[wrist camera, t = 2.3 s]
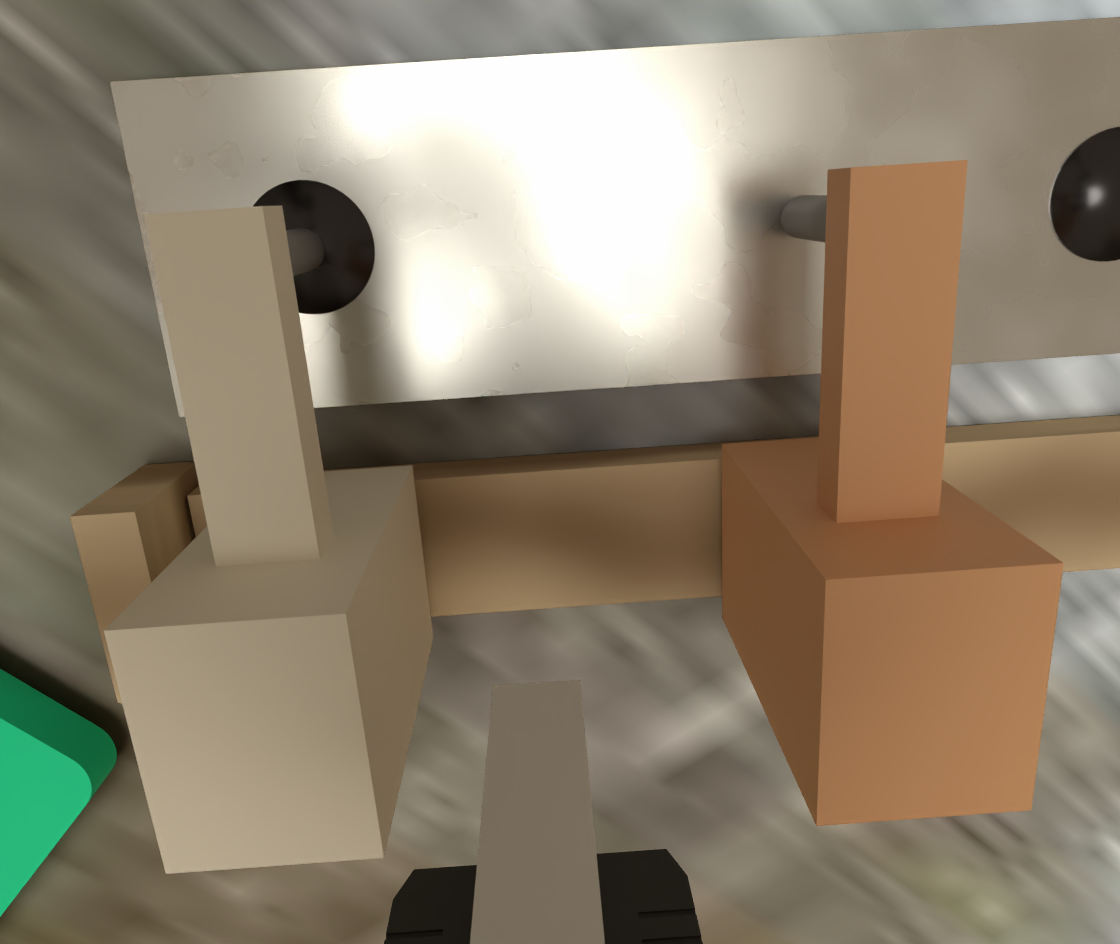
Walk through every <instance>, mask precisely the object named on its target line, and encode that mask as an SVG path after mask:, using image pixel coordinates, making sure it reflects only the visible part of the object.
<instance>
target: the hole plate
mask: <svg viewBox="0 0 1120 944" xmlns="http://www.w3.org/2000/svg"><path fill="white" fill-rule="evenodd" d="M110 85H111V90H112V95H113V99H114V104H115V109H116V114H117V119H118V123H119V128H120V133H121V138H122V143H123V148H124V152H125V157H126V162H127V167H128V172H129V177H130V181H131V186H132V191H133V196H134V201H135V206H136V210H137V215H138V220H139V225H140V230H141V235H142V239H143V244H144V249H145V254H146V259H147V263H148V268H149V273H150V278H151V283H152V288H153V292H154V297H155V302H156V307H157V312H158V317H159V321H160V326H161V331H162V336H163V341H164V346H165V350H166V355H167V360H168V365H169V370H170V375H171V379H172V384H173V389H174V394H175V399H176V403H177V408H178V413H179V417H185V414H184V409H183V404H182V399H181V395H180V390H179V385H178V380H177V375H176V370H175V365H174V360H173V355H172V351H171V346H170V341H169V336H168V331H167V326H166V321H165V316H164V312H163V307H162V302H161V297H160V292H159V287H158V282H157V277H156V273H155V268H154V263H153V258H152V253H151V248H150V243H149V238H148V233H147V229H146V224H145V219H144V214H150V213H165V212H181V211H196V210H211V209H226V208H242V207H257V206H282V208H283V214H284V221H285V227H286V230H292V229H299V228H304V229H308V230H311V231H313V232H314V233H315V234H317V235H318V236H319V238H320V239H321V241H322V243H323V246H324V258H323V260H322V262H321V264H320V265H319V266H318V267H317V268H315V269H314V270H311V271H308V272H305V273H302V274H299V275H296V276H293V278H294V285H295V291H296V297H297V304H298V310H299V317H300V323H301V329H302V336H303V342H304V349H305V355H306V361H307V368H308V374H309V381H310V387H311V393H312V400H313V406H314V408H320V407H335V406H350V405H365V404H379V403H394V402H409V401H423V400H438V399H453V398H467V397H482V396H497V395H511V394H526V393H541V392H555V391H570V390H585V389H599V388H614V387H629V386H644V385H658V384H673V383H688V382H702V381H717V380H732V379H746V378H761V377H776V376H790V375H805V374H820V373H821V357H822V327H823V296H824V266H825V243H824V242H818V241H811V240H805V239H798V238H794V237H791V236H790V235H788V234H787V233H786V232H785V230H784V229H783V227H782V223H781V214H782V211H783V208H784V207H785V205H786V204H787V203H788V202H789V201H790V200H791V199H792V198H794V197H796V196H800V195H827V175H828V170H829V169H840V168H851V167H866V166H881V165H897V164H912V163H927V162H942V161H957V160H968V163H967V175H966V188H965V200H964V212H963V225H962V237H961V250H960V262H959V274H958V287H957V299H956V312H955V324H954V336H953V349H952V361H951V365H952V364H967V363H981V362H996V361H1011V360H1025V359H1040V358H1055V357H1069V356H1084V355H1099V354H1114V353H1120V17H1114V18H1098V19H1083V20H1067V21H1051V22H1036V23H1020V24H1005V25H989V26H973V27H958V28H942V29H927V30H911V31H895V32H880V33H864V34H848V35H833V36H817V37H802V38H786V39H770V40H755V41H739V42H724V43H708V44H692V45H677V46H661V47H646V48H630V49H614V50H599V51H583V52H567V53H552V54H536V55H521V56H505V57H489V58H474V59H458V60H443V61H427V62H411V63H396V64H380V65H364V66H349V67H333V68H318V69H302V70H286V71H271V72H255V73H240V74H224V75H208V76H193V77H177V78H162V79H146V80H130V81H115V82H110Z"/></svg>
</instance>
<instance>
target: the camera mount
mask: <svg viewBox="0 0 1120 944" xmlns="http://www.w3.org/2000/svg"><path fill="white" fill-rule="evenodd" d="M116 759H117V751H116V747H115V744H114V742H113V740H112V739H111V737H110V736H109V735H108V734H107V733H106V732H105V731H104V730H103V729H101V728H100V727H98V726H97V725H95V724H93V723H92V722H90V721H88V720H86V719H85V718H83V717H81V716H80V715H78V714H76V713H75V712H73V711H71V710H70V709H68V708H66V707H64V706H63V705H61V704H59V703H58V702H56V701H54V700H53V699H51V698H49V697H47V696H46V695H44V694H42V693H41V692H39V691H37V690H36V689H34V688H32V687H30V686H29V685H27V684H25V683H24V682H22V681H20V680H19V679H17V678H15V677H13V676H12V675H10V674H8V673H7V672H5V671H3V670H2V669H0V917H1V915H2V914H3V913H4V911H5V910H6V909H7V907H8V906H9V905H10V904H11V902H12V901H13V900H14V898H15V897H16V896H17V894H18V893H19V892H20V891H21V889H22V888H23V887H24V885H25V884H26V883H27V881H28V880H29V879H30V877H31V876H32V875H33V874H34V872H35V871H36V870H37V868H38V867H39V866H40V864H41V863H42V862H43V861H44V859H45V858H46V857H47V855H48V854H49V853H50V851H51V850H52V849H53V848H54V846H55V845H56V844H57V842H58V841H59V840H60V838H61V837H62V836H63V835H64V833H65V832H66V831H67V829H68V828H69V827H70V825H71V824H72V823H73V822H74V820H75V819H76V818H77V816H78V815H79V814H80V812H81V811H82V810H83V809H84V807H85V806H86V805H87V803H88V802H89V801H90V799H91V798H92V796H93V795H94V794H95V792H96V791H97V790H98V788H99V787H100V785H101V784H102V783H103V781H104V780H105V779H106V777H107V776H108V775H109V773H110V772H111V770H112V769H113V768H114V766H115V763H116Z"/></svg>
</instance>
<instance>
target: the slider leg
mask: <svg viewBox="0 0 1120 944" xmlns="http://www.w3.org/2000/svg"><path fill="white" fill-rule="evenodd" d="M967 163H968V160H957V161H942V162H927V163H912V164H897V165H881V166H866V167H851V168H840V169H829V170H828V175H827V195H800V196H796V197H794V198H792V199H791V200H790V201H789V202H788V203H787V204H786V205H785V207H784V208H783V211H782V214H781V223H782V227H783V229H784V230H785V232H786V233H787V234H788V235H790V236H791V237H794V238H798V239H805V240H811V241H818V242H824V243H825V266H824V296H823V327H822V357H821V388H820V418H819V437H816V438H802V439H787V440H773V441H758V442H743V443H729V444H722V618H723V620H724V622H725V625H726V627H727V629H728V631H729V633H730V636H731V638H732V640H733V642H734V644H735V647H736V649H737V651H738V653H739V655H740V658H741V660H742V662H743V664H744V667H745V669H746V671H747V673H748V675H749V678H750V680H751V682H752V684H753V686H754V689H755V691H756V693H757V695H758V698H759V700H760V702H761V704H762V706H763V709H764V711H765V713H766V715H767V717H768V720H769V722H770V724H771V726H772V729H773V731H774V733H775V735H776V737H777V740H778V742H779V744H780V746H781V748H782V751H783V753H784V755H785V757H786V759H787V762H788V764H789V766H790V768H791V771H792V773H793V775H794V777H795V779H796V782H797V784H798V786H799V788H800V790H801V793H802V795H803V797H804V799H805V802H806V804H807V806H808V808H809V810H810V813H811V815H812V817H813V819H814V821H815V824H816V826H823V825H836V824H850V823H864V822H877V821H891V820H904V819H918V818H932V817H945V816H959V815H972V814H986V813H1000V812H1013V811H1027V810H1031V808H1032V800H1033V793H1034V785H1035V777H1036V770H1037V762H1038V755H1039V747H1040V739H1041V732H1042V724H1043V717H1044V709H1045V701H1046V694H1047V686H1048V679H1049V671H1050V663H1051V656H1052V648H1053V641H1054V633H1055V625H1056V618H1057V610H1058V603H1059V595H1060V588H1061V580H1062V572H1063V565H1064V563H1063V562H1061V561H1060V560H1059V559H1057V558H1056V557H1054V556H1053V555H1051V554H1050V553H1048V552H1047V551H1045V550H1044V549H1043V548H1041V547H1040V546H1038V545H1037V544H1035V543H1034V542H1032V541H1031V540H1030V539H1028V538H1027V537H1025V536H1024V535H1022V534H1021V533H1019V532H1018V531H1016V530H1015V529H1014V528H1012V527H1011V526H1009V525H1008V524H1006V523H1005V522H1003V521H1002V520H1000V519H999V518H998V517H996V516H995V515H993V514H992V513H990V512H989V511H987V510H986V509H984V508H983V507H982V506H980V505H979V504H977V503H976V502H974V501H973V500H971V499H970V498H969V497H967V496H966V495H964V494H963V493H961V492H960V491H958V490H957V489H955V488H954V487H953V486H951V485H950V484H948V483H947V482H945V481H944V480H942V473H943V460H944V448H945V435H946V423H947V411H948V398H949V386H950V374H951V361H952V349H953V336H954V324H955V312H956V299H957V287H958V274H959V262H960V250H961V237H962V225H963V212H964V200H965V188H966V175H967Z"/></svg>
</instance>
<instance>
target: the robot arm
mask: <svg viewBox="0 0 1120 944" xmlns="http://www.w3.org/2000/svg"><path fill="white" fill-rule="evenodd" d="M384 944H703V942H702V940H701V933H700V929H699V924H698V920H697V916H696V914H695V907H694V903H693V898H692V894H691V889H690V885H689V881H688V876H687V875H686V873H685V872H684V871H683V870H682V868H681V867H680V866H679V865H678V863H677V862H676V861H675V859H674V858H673V857H672V856H671V854H670V853H669V852H668V851H667V849H659V850H645V851H631V852H617V853H604V854H596V844H595V833H594V823H593V812H592V802H591V791H590V781H589V770H588V760H587V749H586V738H585V728H584V717H583V707H582V696H581V686H580V680H571V681H557V682H543V683H529V684H515V685H500V686H493V690H492V701H491V713H490V724H489V735H488V746H487V758H486V769H485V780H484V791H483V803H482V814H481V825H480V836H479V847H478V859H477V865H471V866H457V867H443V868H429V869H415V870H413V872H412V873H411V875H410V876H409V877H408V879H407V880H406V882H405V883H404V885H403V886H402V888H401V889H400V890H399V892H398V893H397V895H396V896H395V898H394V899H393V903H392V907H391V912H390V917H389V922H388V927H387V932H386V940H385V941H384Z"/></svg>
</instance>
